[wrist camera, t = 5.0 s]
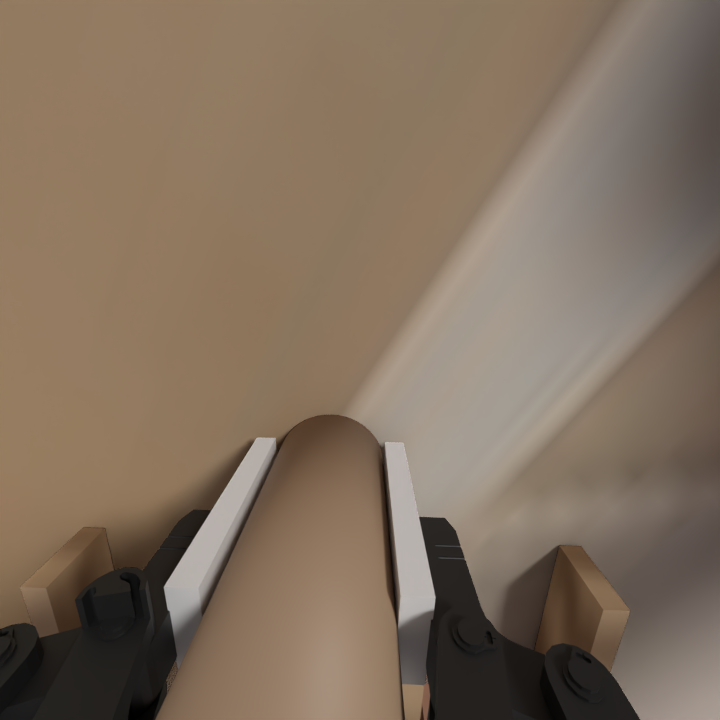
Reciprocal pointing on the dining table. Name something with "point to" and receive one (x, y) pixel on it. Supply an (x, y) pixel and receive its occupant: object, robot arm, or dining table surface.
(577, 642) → the oak lanes
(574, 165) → the dining table surface
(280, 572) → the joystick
